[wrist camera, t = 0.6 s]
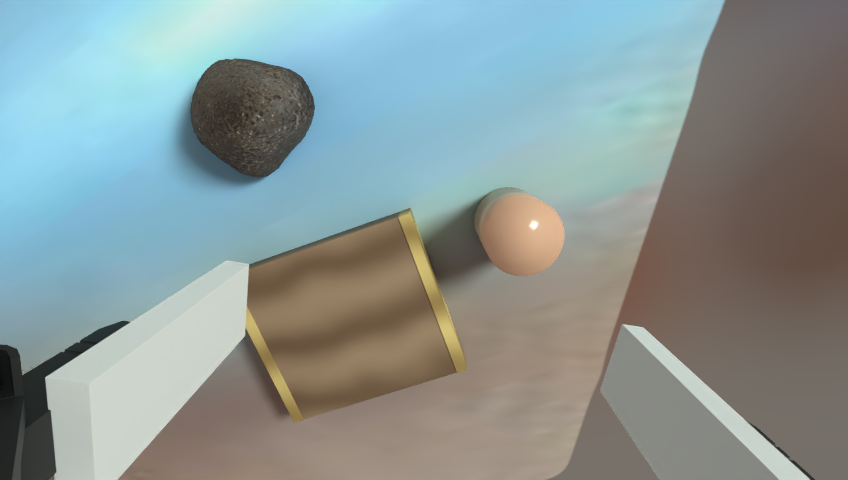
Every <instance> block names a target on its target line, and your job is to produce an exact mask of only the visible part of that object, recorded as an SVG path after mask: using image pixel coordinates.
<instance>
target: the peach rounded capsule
mask: <svg viewBox="0 0 848 480" xmlns="http://www.w3.org/2000/svg"><path fill="white" fill-rule="evenodd" d="M474 225H475V230H476V232H477V235H478V237H479V239H480V241H481V243H482V244H483V246H484V248H485V250H486V252H487V254H488V256H489V258H490V260H491V261H492V262H493V264H494V265H495V266H496V267H498V268H499V269H500V270H502V271H504V272H506V273H508V274H511V275H515V276H529V275H533V274H536V273H539V272H541V271H543V270H545V269H546V268H548V267H549V266H550V265H551V264H552V263H553V262H554V261H555V260H556V259H557V257H558V256H559V254H560V252H561V250H562V247H563V243H564V227H563V224H562V221H561V219H560V217H559V215H558V214H557V213H556V211H555V210H554V209H553V208H551V207H550V206H549V205H547V204H545V203H544V202H542V201H540V200H538V199H537V198H535V197H533V196H531V195H530V194H528V193H526V192H524V191H523V190H520V189H517V188H512V187H504V188H499V189H496V190H494V191H492V192H490V193H489V194H487V195H486V196H485V197H484V198H483V199H482V200H481V201H480V203H479V205H478V206H477V209H476V212H475V216H474Z"/></svg>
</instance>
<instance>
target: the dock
mask: <svg viewBox="0 0 848 480" xmlns="http://www.w3.org/2000/svg"><path fill="white" fill-rule="evenodd" d="M246 329H247V331H248V333H249V335H250V337H251V339H252V341H253V343H254V345H255V347H256V349H257V351H258V353H259V355H260V357H261V359H262V361H263V362H264V364H265V366H266V368H267V370H268V372H269V374H270V376H271V378H272V380H273V382H274V384H275V386H276V388H277V390H278V392H279V394H280V396H281V398H282V400H283V402H284V404H285V406H286V407H287V409H288V411H289V413H290V415H291V417H292V419H293V421H294V423H295V422H298V421H302V420H304V419H306V418H310V417H313V416H316V415H319V414H323V413H326V412H329V411H332V410H336V409H339V408H342V407H345V406H349V405H352V404H355V403H358V402H362V401H365V400H368V399H372V398H375V397H378V396H381V395H385V394H388V393H391V392H394V391H398V390H401V389H404V388H407V387H411V386H414V385H417V384H421V383H424V382H427V381H430V380H434V379H437V378H440V377H443V376H447V375H450V374H453V373H456V372H457V373H458V372H462V371H465V370H467V366H466V360H465V355H464V352H463V349H462V346H461V344H460V341H459V338H458V336H457V333H456V330H455V327H454V325H453V322H452V319H451V317H450V314H449V311H448V308H447V306H446V303H445V300H444V298H443V295H442V292H441V289H440V287H439V284H438V281H437V279H436V276H435V273H434V271H433V268H432V265H431V262H430V260H429V257H428V254H427V252H426V249H425V246H424V243H423V241H422V238H421V235H420V233H419V230H418V227H417V224H416V222H415V219H414V216H413V214H412V211H411V208H409V209H406V210H403V211H401V212H398V213H395V214H392V215H389V216H386V217H384V218H381V219H378V220H375V221H372V222H369V223H366V224H364V225H361V226H358V227H355V228H352V229H349V230H347V231H344V232H341V233H338V234H335V235H332V236H329V237H327V238H324V239H321V240H318V241H315V242H312V243H309V244H307V245H304V246H301V247H298V248H295V249H292V250H290V251H287V252H284V253H281V254H278V255H275V256H272V257H270V258H267V259H264V260H261V261H258V262H255V263H253V264H250V265H249V273H248V291H247V309H246Z"/></svg>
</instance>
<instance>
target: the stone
mask: <svg viewBox="0 0 848 480" xmlns="http://www.w3.org/2000/svg"><path fill="white" fill-rule="evenodd" d="M314 110H315V106H314V100H313V96H312V94H311V92H310V90H309V87H308V85H307V84H306V82H305V81H304V79H303V78H302V77H301V76H300V75H298V74H297V73H295V72H293V71H292V70H290V69H286V68H283V67H279V66H274V65H269V64H266V63H262V62H258V61H252V60H247V59H233V60H230V59H225V60H220V61H217V62H215V63H214V64H212V65H211V66H210V67H209V68H208V69H207V70H206V71H205V72H204V74H203V75H202V76H201V78H200V80H199V81H198V83H197V86H196V89H195V91H194V94H193V97H192V104H191V122H192V125H193V129H194V132H195V134H196V135H197V138H198V139H199V141H200V142H201V143H202V144H203V145H204V146H205V147H206V148H208V149H209V150H210V151H211V152H212V153H213V154H215V155H216V156H217V157H219V158H220V159H221V160H223V161H224V162H226V163H228V164H229V165H230V166H232V167H233V168H235V169H236V170H238V171H239V172H240V173H242V174H245V175H249V176H257V177H264V176H268V175H269V174H271V173H272V172H274V171H275V170H276V169H278V168H279V167H280V165H281V164H282V163H283V161H284V160H285V158H286V157H287V156H288V155H289V153H290V152H291V151H292V150H293V149H294V147H295V146H296V145H298V144H299V143H300V142H301V141H302V139H303V138H304V137H305V135H306V133H307V131H308V129H309V127H310V125H311V123H312V119H313V116H314Z"/></svg>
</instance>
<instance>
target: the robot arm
mask: <svg viewBox="0 0 848 480" xmlns="http://www.w3.org/2000/svg"><path fill="white" fill-rule="evenodd" d="M248 273H249V264H246V263H239V262H233V261H227V260H226V261H225V262H223V263H222V264H220V265H218V266H217V267H215V268H214V269H212V270H211V271H209V272H208V273H206V274H205V275H203V276H201V277H200V278H198V279H197V280H195V281H194V282H192V283H191V284H189V285H188V286H186V287H184V288H183V289H181V290H180V291H178V292H177V293H175V294H174V295H172V296H170V297H169V298H167V299H166V300H164V301H163V302H161V303H160V304H158V305H157V306H155V307H153V308H152V309H150V310H149V311H147V312H146V313H144V314H143V315H141V316H140V317H138V318H136V319H135V320H133V321H132V322H128V321H121V322H118V323H115V324H112V325H109V326H106V327H104V328H101V329H98V330H97V331H95V332H93V333H92V334H90V335H88V336H87V337H85V338H84V339H82V340H81V341H80V343H75V344H74V345H72V346H70V347H69V348H67V349H65V352H60V353H59V354H57V355H55V356H54V357H52V358H50V359H49V360H47V361H45V362H44V363H42V364H41V365H39V366H37V367H36V368H34V369H32V370H31V371H29V372H27V373H26V374H24V375H22V371H21V362H20V355H19V353H18V350H17V349H15V348H13V347H10V346H8V345H0V480H49V479H50V478H51V477H52V476H53V475H55V480H118V478H119V477H120V476H121V475H122V474H123V473H124V472H125V471H126V469H127V468H128V467H129V466H130V465H131V464H132V463H133V462H134V460H135V459H136V458H137V457H138V456H139V455H140V454H141V453H142V451H143V450H144V449H145V448H146V447H147V446H148V445H149V444H150V442H151V441H152V440H153V439H154V438H155V437H156V436H157V435H158V433H159V432H160V431H161V430H162V429H163V428H164V427H165V425H166V424H167V423H168V422H169V421H170V420H171V419H172V418H173V416H174V415H175V414H176V413H177V412H178V411H179V410H180V409H181V407H182V406H183V405H184V404H185V403H186V402H187V401H188V400H189V398H190V397H191V396H192V395H193V394H194V393H195V392H196V391H197V389H198V388H199V387H200V386H201V385H202V384H203V383H204V382H205V380H206V379H207V378H208V377H209V376H210V375H211V374H212V373H213V371H214V370H215V369H216V368H217V367H218V366H219V365H220V364H221V362H222V361H223V360H224V359H225V358H226V357H227V356H228V355H229V353H230V352H231V351H232V350H233V349H234V348H235V347H236V345H237V344H238V343H239V342H240V341H241V340H242V339H243V338H244V336H245V327H246V309H247V291H248ZM600 391H601V393H602V394H603V396H604V397H605V399H606V401H607V402H608V403H609V405H610V406H611V408H612V409H613V411H614V413H615V414H616V416H617V417H618V419H619V420H620V421H621V423H622V425H623V426H624V427H625V429H626V430H627V432H628V434H629V435H630V436H631V438H632V439H633V441H634V443H635V444H636V446H637V447H638V449H639V450H640V452H641V453H642V455H643V456H644V457H645V459H646V461H647V462H648V463H649V465H650V467H651V468H652V470H653V471H654V473H655V474H656V476H657V477H658V479H659V480H815V479H814V478H813V477H811V476H810V475H809V474H808V473H807V472H806V471H805V470H804V469H803V468H802V467H800V466H799V465H798V464H797V463H796V462H795V461H792V460H790V457H789V456H788V455H787V454H786V453H785V452H784V451H783V450H781V449H780V448H779V447H776V446H775V443H774V442H773V441H772V440H770V439H769V438H768V437H767V436H766V435H765V434H764V433H763V432H761V431H760V430H759V429H758V428H757V427H755V426H754V425H752V424H750V423H749V422H748V421H746V420H745V419H743V418H742V417H741V416H740V415H739V414H738V413H736V412H735V411H734V410H733V409H732V408H731V407H730V406H729V405H728V404H726V402H724V401H723V400H722V399H721V398H720V397H719V396H718V395H717V394H716V393H715V392H713V391H712V390H711V389H710V388H709V387H708V386H707V385H706V384H705V383H704V382H702V381H701V380H700V379H699V378H698V377H697V376H696V375H695V374H694V373H692V372H691V371H690V370H689V369H688V368H687V367H686V366H685V365H684V364H683V363H681V362H680V361H679V360H678V359H677V358H676V357H675V356H674V355H673V354H672V353H671V352H669V351H668V350H667V349H666V348H665V347H664V346H663V345H662V344H661V343H660V342H658V341H657V340H656V339H655V338H654V337H653V336H652V335H651V334H650V333H649V332H648V331H646V330H645V329H644V328H643V327H637V326H630V325H624V324H622V326H621V330H620V332H619V336H618V338H617V341H616V344H615V347H614V350H613V353H612V356H611V360H610V362H609V365H608V368H607V371H606V374H605V377H604V380H603V383H602V386H601V389H600Z"/></svg>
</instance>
